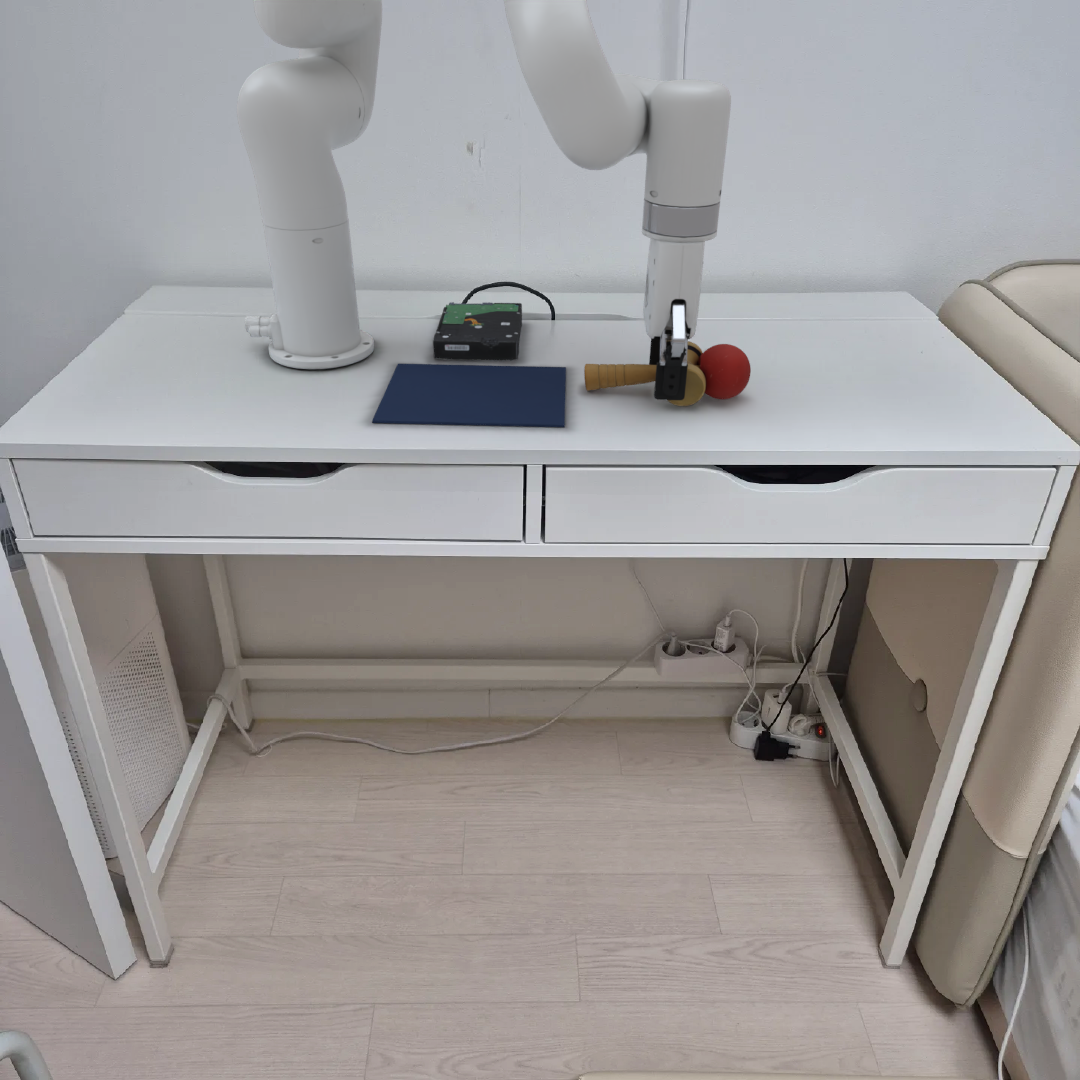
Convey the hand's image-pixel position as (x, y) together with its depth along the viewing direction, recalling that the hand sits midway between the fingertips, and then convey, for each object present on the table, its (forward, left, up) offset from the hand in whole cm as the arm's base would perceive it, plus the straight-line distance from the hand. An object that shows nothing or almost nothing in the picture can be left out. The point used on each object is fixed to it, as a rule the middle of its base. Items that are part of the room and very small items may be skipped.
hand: (665, 383), depth 99 cm
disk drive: (-22, +16, -2) cm, 27 cm away
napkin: (-21, -1, -1) cm, 21 cm away
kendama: (0, 0, -2) cm, 2 cm away
